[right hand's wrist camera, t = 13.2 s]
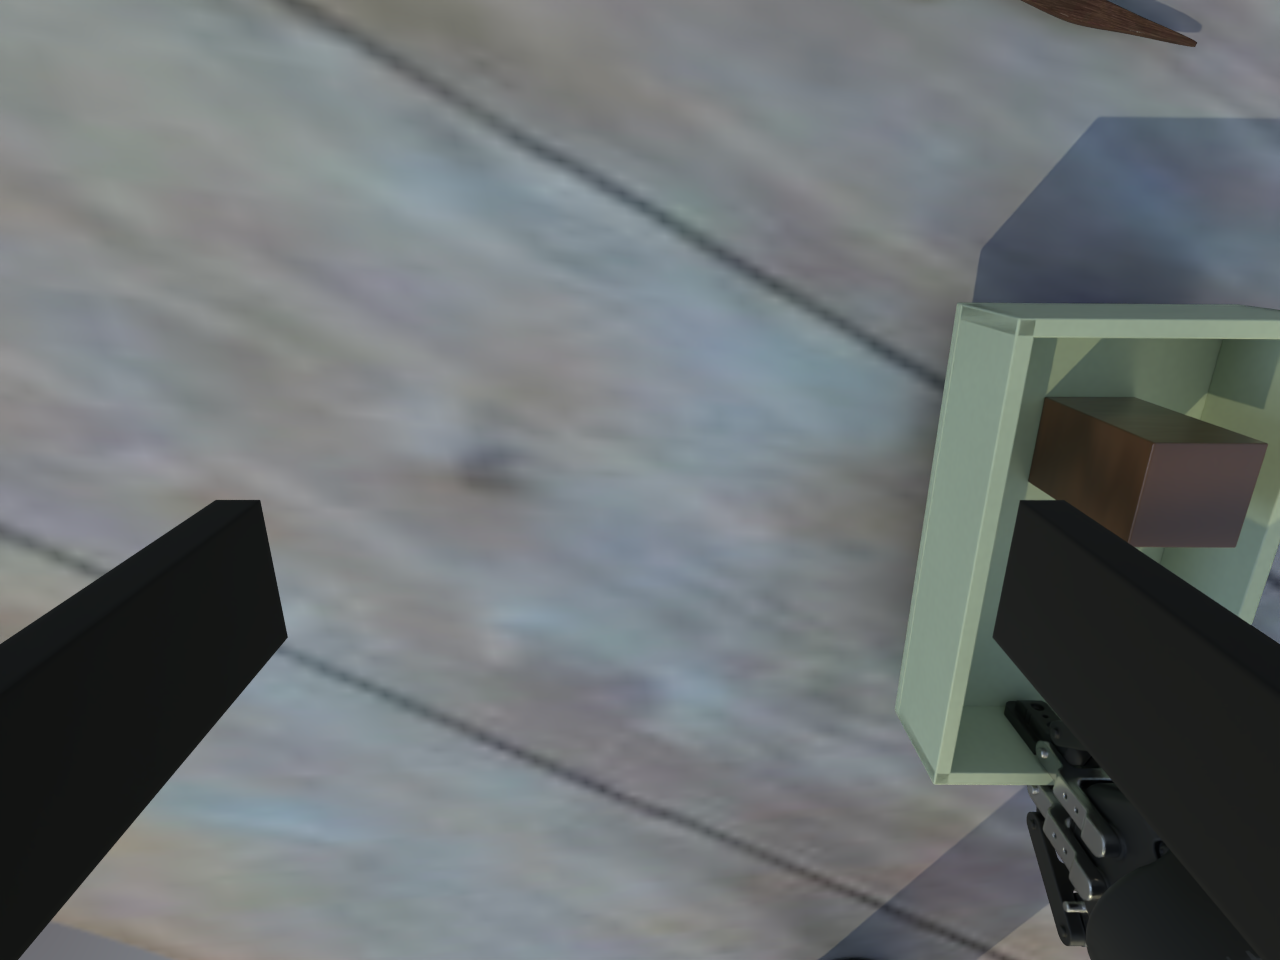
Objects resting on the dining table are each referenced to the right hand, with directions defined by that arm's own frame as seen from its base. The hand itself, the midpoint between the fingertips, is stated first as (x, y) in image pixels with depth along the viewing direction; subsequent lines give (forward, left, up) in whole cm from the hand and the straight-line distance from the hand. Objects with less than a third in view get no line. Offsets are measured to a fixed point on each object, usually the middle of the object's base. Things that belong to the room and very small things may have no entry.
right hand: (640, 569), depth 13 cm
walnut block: (+4, +22, -23) cm, 32 cm away
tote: (+9, +22, -24) cm, 34 cm away
